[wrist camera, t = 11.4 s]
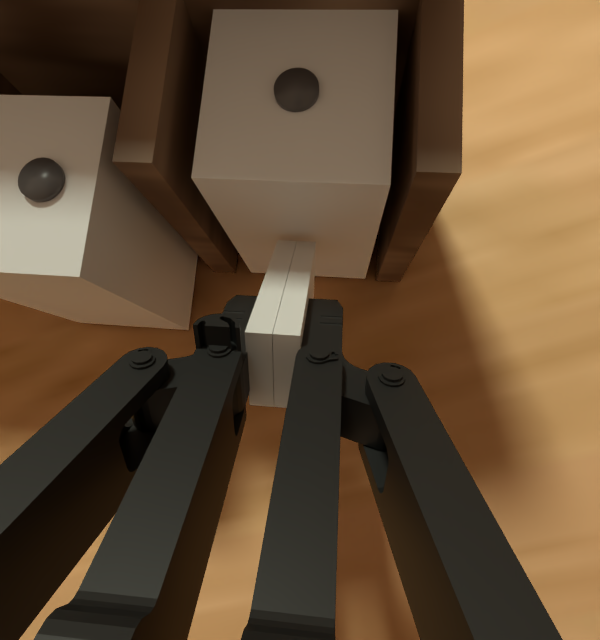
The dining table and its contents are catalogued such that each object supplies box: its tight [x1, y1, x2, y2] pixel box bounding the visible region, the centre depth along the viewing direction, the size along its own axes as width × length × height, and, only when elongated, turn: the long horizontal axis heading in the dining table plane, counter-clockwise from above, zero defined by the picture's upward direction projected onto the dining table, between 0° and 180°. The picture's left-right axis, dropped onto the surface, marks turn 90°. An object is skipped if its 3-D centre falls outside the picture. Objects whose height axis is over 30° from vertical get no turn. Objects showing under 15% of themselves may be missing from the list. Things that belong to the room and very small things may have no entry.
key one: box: [191, 9, 398, 279], centre depth 18 cm, size 6×6×10 cm
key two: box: [0, 95, 198, 330], centre depth 18 cm, size 6×6×10 cm
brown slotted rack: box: [0, 0, 464, 282], centre depth 16 cm, size 28×8×17 cm, turn 86°
